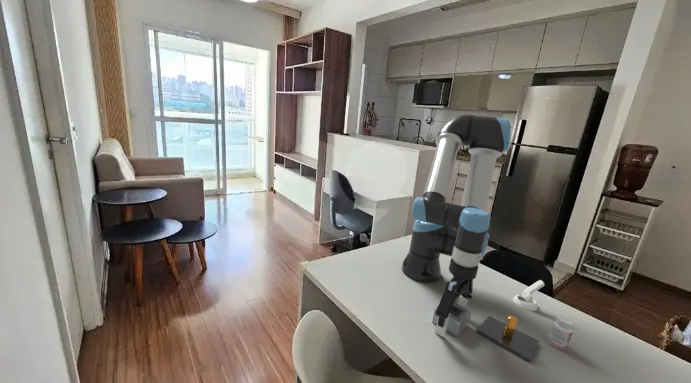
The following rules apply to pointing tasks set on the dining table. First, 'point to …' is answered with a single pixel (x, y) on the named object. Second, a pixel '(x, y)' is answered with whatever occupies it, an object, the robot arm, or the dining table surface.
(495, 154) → the robot arm
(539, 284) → the vr controller
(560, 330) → the pill bottle
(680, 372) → the dining table surface
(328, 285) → the dining table surface
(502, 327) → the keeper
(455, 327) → the grey square socket block
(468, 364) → the dining table surface
